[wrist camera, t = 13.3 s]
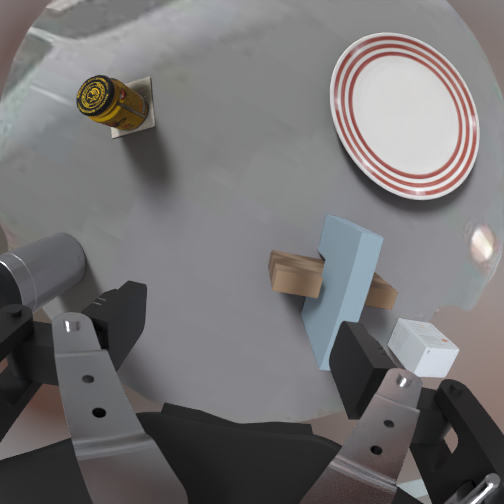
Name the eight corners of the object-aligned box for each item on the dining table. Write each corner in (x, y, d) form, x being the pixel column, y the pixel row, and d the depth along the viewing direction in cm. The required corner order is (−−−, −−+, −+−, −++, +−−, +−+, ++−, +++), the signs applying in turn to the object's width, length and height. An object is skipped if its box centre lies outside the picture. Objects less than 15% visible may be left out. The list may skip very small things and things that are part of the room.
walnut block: (268, 266, 44) (272, 290, 35) (271, 250, 44) (277, 270, 34) (366, 284, 45) (392, 309, 35) (370, 269, 45) (397, 291, 35)
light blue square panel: (300, 314, 46) (319, 369, 32) (326, 214, 43) (362, 232, 28) (315, 317, 46) (339, 371, 32) (342, 218, 43) (383, 237, 28)
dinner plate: (305, 163, 41) (309, 162, 38) (344, 15, 35) (350, 6, 32) (450, 220, 43) (461, 224, 40) (475, 85, 37) (485, 81, 33)
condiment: (112, 138, 40) (70, 128, 28) (108, 89, 38) (69, 68, 26) (155, 126, 40) (123, 110, 28) (150, 76, 38) (119, 47, 26)
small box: (386, 344, 48) (410, 377, 38) (398, 316, 47) (426, 346, 36) (419, 348, 48) (445, 378, 38) (431, 322, 47) (460, 349, 37)
